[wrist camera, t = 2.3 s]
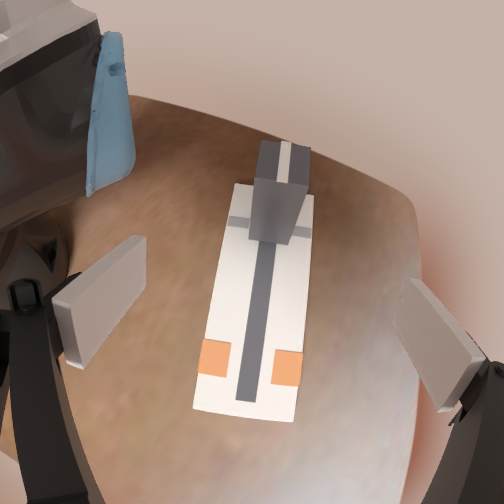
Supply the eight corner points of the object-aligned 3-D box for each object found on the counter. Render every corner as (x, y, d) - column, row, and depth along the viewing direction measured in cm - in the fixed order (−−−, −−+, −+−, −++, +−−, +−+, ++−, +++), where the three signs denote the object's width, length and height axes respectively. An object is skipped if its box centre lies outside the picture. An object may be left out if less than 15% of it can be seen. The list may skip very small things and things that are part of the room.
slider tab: (287, 245, 31) (309, 185, 21) (248, 239, 31) (254, 176, 21) (291, 211, 32) (311, 145, 23) (253, 205, 32) (261, 137, 23)
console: (290, 419, 26) (294, 422, 24) (194, 406, 26) (191, 408, 24) (310, 205, 36) (314, 195, 34) (234, 193, 36) (234, 182, 34)
